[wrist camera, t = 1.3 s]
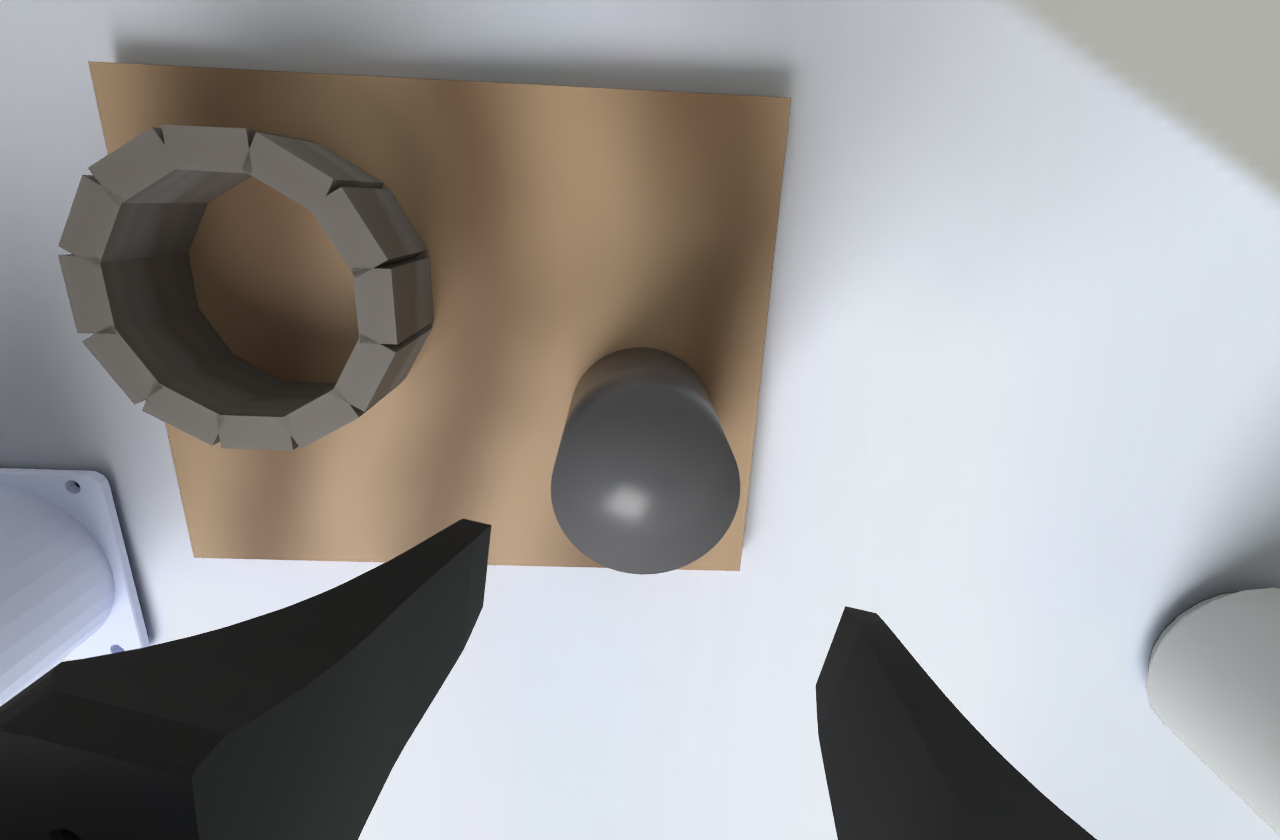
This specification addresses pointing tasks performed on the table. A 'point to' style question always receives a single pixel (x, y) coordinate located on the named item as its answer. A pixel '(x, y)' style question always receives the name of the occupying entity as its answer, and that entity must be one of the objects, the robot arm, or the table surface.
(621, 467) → the dark gray cylinder
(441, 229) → the barrel mount
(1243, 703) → the can
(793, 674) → the table surface
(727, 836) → the table surface
